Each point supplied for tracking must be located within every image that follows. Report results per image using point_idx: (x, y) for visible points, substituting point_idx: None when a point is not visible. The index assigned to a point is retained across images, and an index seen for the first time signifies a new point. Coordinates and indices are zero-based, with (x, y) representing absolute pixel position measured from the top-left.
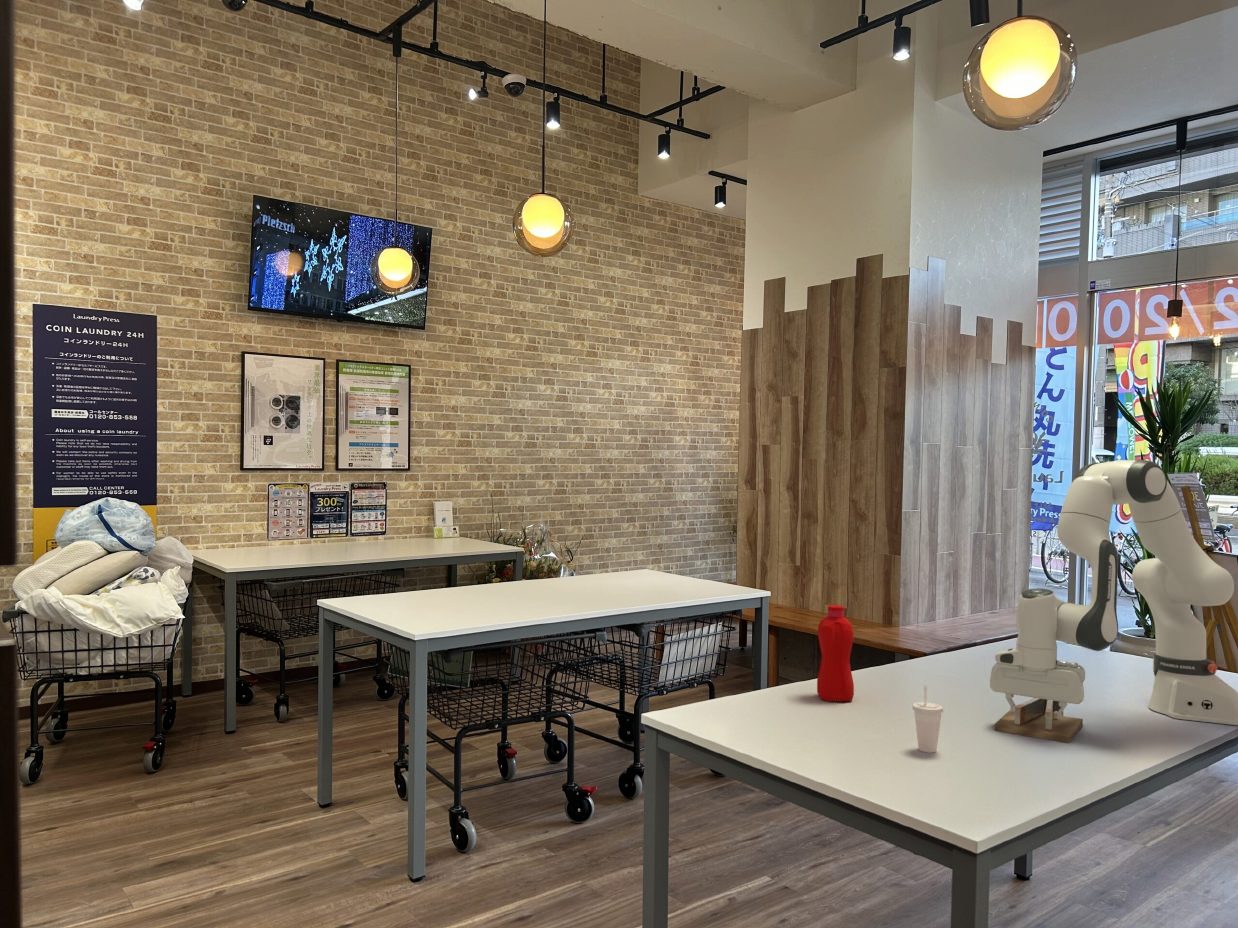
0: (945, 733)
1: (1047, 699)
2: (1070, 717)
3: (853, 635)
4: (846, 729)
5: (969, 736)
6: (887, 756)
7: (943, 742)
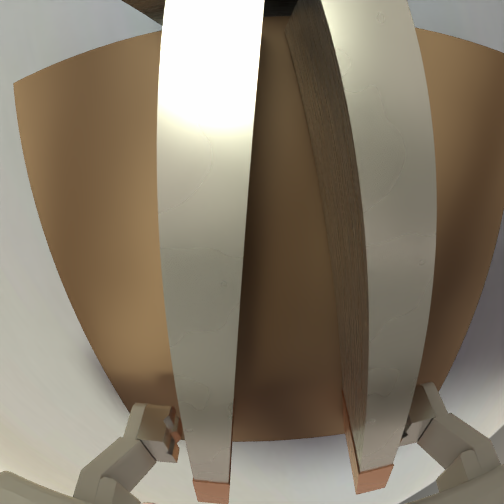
0: None
1: None
2: (455, 50)
3: None
4: (26, 464)
5: None
6: None
7: (145, 490)
